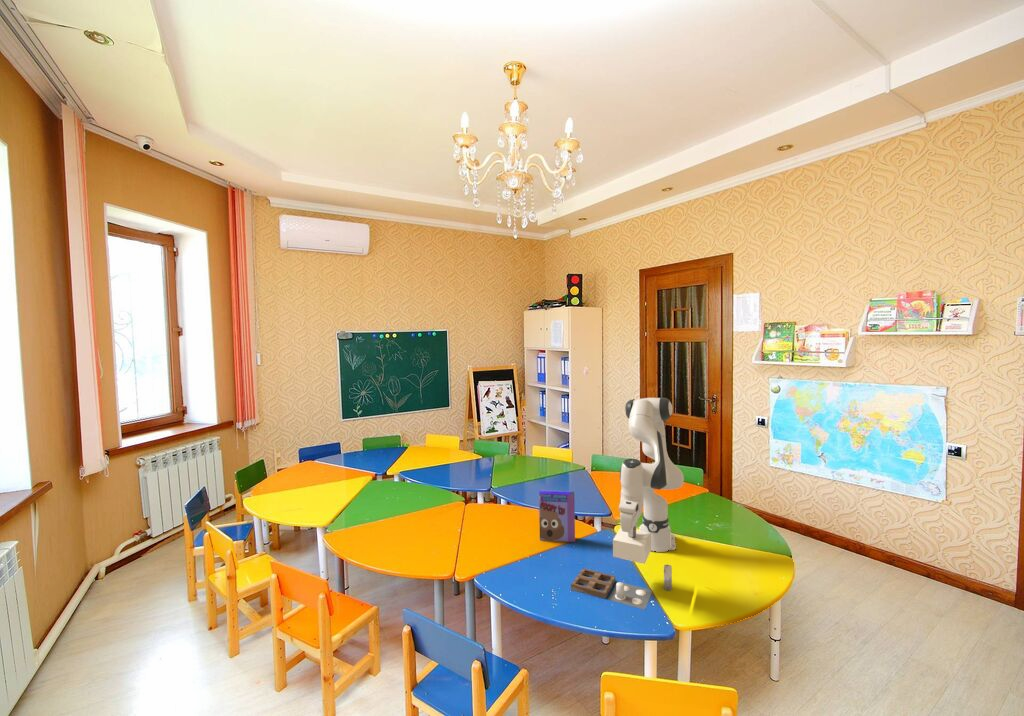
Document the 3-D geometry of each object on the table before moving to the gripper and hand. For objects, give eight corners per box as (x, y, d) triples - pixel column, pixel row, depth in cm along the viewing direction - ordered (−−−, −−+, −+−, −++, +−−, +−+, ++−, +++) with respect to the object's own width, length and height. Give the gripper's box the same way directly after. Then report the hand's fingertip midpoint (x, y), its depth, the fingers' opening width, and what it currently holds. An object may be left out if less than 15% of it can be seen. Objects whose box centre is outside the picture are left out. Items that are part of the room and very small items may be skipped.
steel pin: (664, 588, 178) (664, 563, 177) (672, 590, 176) (672, 565, 176) (663, 591, 175) (663, 567, 174) (671, 593, 174) (671, 569, 173)
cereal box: (539, 540, 221) (538, 493, 220) (540, 536, 226) (539, 490, 225) (574, 542, 219) (574, 494, 218) (574, 537, 223) (574, 491, 222)
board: (617, 583, 181) (617, 569, 181) (652, 592, 175) (652, 578, 174) (607, 602, 169) (607, 586, 169) (645, 612, 162) (645, 596, 162)
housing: (621, 542, 187) (620, 517, 187) (651, 549, 182) (651, 523, 181) (613, 556, 177) (612, 530, 176) (644, 564, 171) (644, 536, 170)
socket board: (583, 574, 189) (583, 568, 188) (615, 583, 182) (615, 576, 182) (571, 591, 176) (571, 584, 176) (605, 601, 170) (605, 593, 169)
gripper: (630, 490, 188) (630, 521, 189) (617, 508, 170) (617, 542, 171) (645, 492, 185) (645, 524, 186) (634, 511, 167) (634, 546, 168)
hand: (632, 533), depth 178 cm, fingers closed on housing, 3 cm apart
